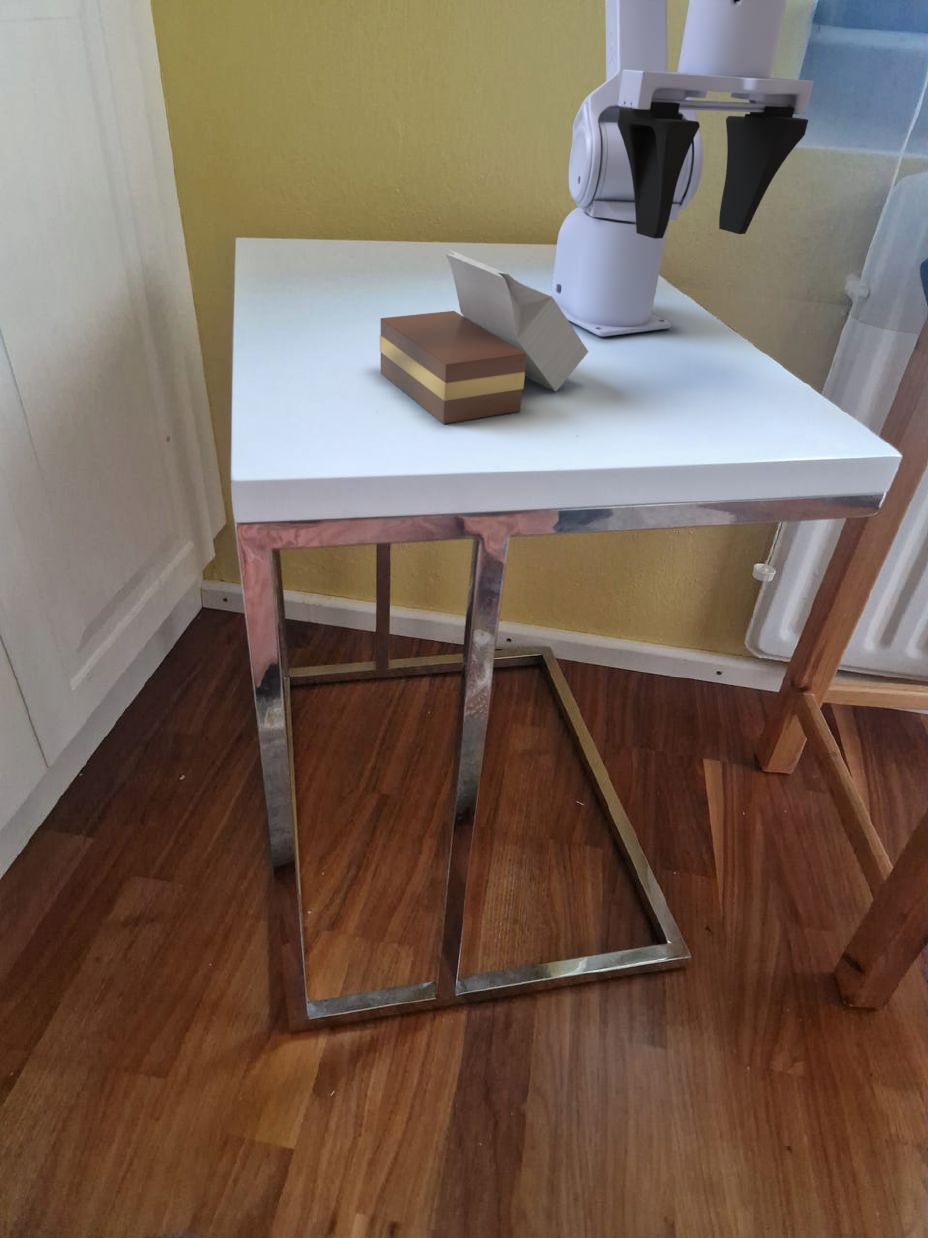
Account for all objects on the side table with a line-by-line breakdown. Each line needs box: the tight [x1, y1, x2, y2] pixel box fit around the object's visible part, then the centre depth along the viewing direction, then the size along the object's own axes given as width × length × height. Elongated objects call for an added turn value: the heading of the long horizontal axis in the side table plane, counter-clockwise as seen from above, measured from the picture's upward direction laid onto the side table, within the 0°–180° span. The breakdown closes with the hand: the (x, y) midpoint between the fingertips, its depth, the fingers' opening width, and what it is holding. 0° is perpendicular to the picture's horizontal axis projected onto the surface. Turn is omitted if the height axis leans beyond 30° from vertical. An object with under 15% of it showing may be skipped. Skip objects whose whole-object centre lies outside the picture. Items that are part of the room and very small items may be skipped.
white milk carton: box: [445, 249, 589, 392], centre depth 58 cm, size 4×7×10 cm
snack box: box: [379, 310, 526, 425], centre depth 58 cm, size 10×6×4 cm, turn 29°
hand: (691, 233), depth 57 cm, fingers open, 7 cm apart
